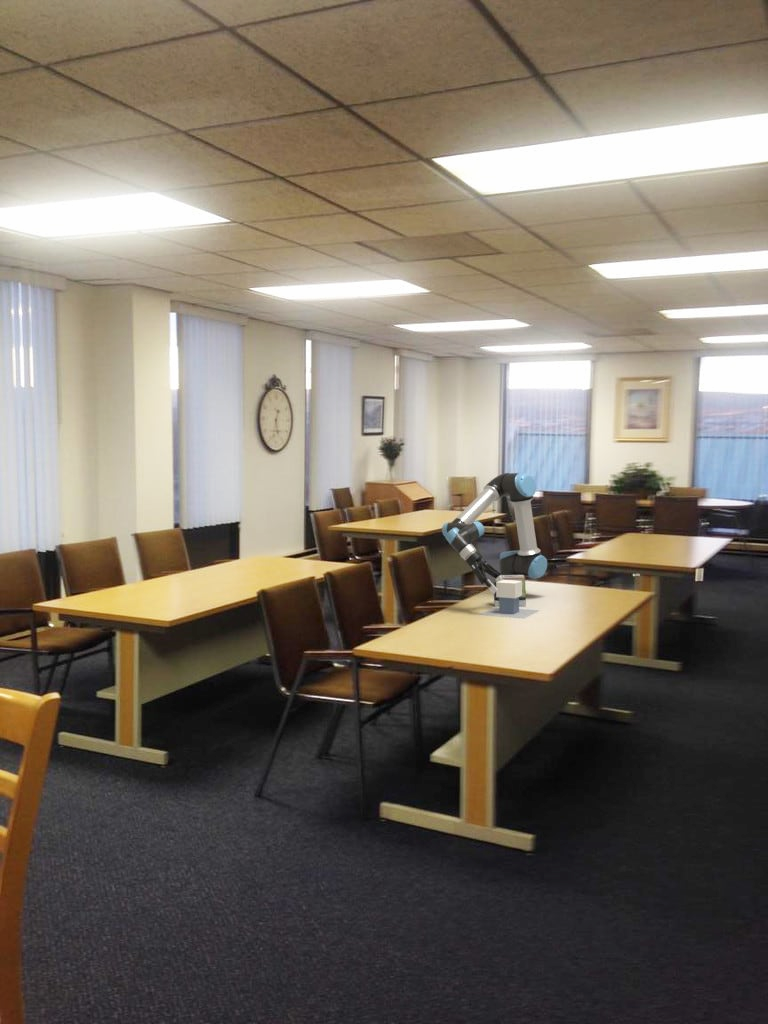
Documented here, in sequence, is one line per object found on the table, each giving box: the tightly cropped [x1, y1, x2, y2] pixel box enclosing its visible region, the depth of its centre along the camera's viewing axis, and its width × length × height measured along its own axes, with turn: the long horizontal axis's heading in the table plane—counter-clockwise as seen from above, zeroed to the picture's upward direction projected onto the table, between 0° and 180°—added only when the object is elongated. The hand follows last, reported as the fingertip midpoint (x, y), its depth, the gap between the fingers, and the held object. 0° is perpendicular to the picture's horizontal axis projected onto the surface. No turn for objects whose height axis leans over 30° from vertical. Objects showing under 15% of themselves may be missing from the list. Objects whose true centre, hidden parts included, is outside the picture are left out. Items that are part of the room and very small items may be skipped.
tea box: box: [493, 575, 527, 608], centre depth 414 cm, size 15×10×15 cm, turn 84°
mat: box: [478, 606, 541, 619], centre depth 395 cm, size 22×22×1 cm
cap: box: [496, 580, 522, 598], centre depth 394 cm, size 9×9×7 cm
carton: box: [499, 597, 520, 614], centre depth 394 cm, size 7×7×13 cm
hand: (501, 590), depth 395 cm, fingers open, 13 cm apart
